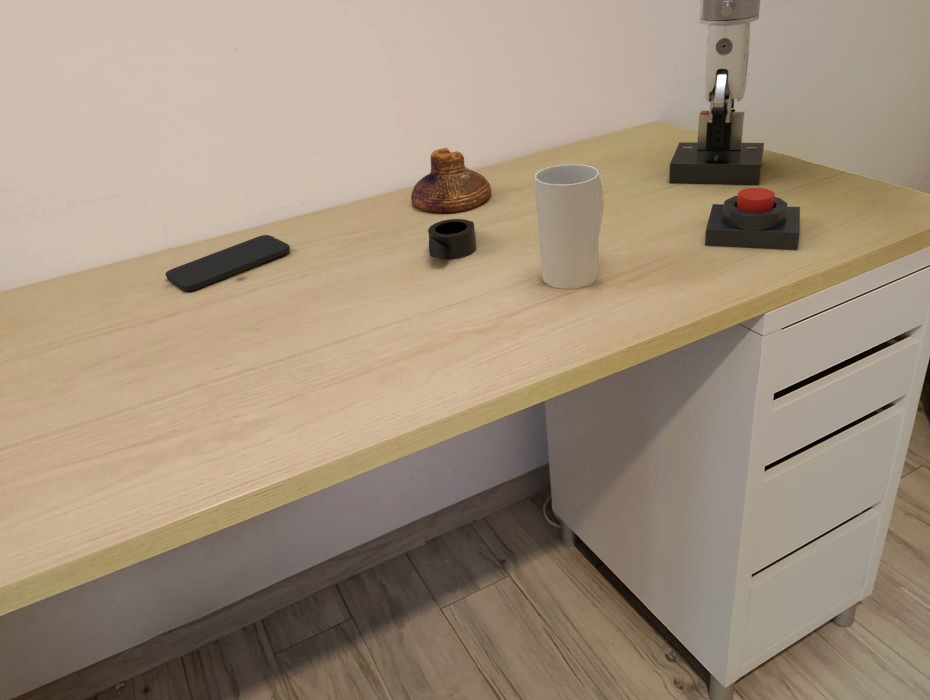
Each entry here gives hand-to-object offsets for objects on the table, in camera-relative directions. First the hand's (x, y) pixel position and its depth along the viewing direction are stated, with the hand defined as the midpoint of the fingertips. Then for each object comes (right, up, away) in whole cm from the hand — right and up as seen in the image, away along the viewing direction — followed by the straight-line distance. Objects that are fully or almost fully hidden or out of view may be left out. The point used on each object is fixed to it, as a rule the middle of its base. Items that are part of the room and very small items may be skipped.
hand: (719, 142), depth 108 cm
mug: (-24, -21, -23) cm, 39 cm away
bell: (-39, -8, +2) cm, 40 cm away
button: (-3, -13, -21) cm, 25 cm away
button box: (-3, -16, -19) cm, 25 cm away
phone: (-67, -19, -11) cm, 71 cm away
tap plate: (0, -4, +1) cm, 4 cm away
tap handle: (0, -1, 0) cm, 1 cm away
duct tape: (-38, -17, -13) cm, 44 cm away
